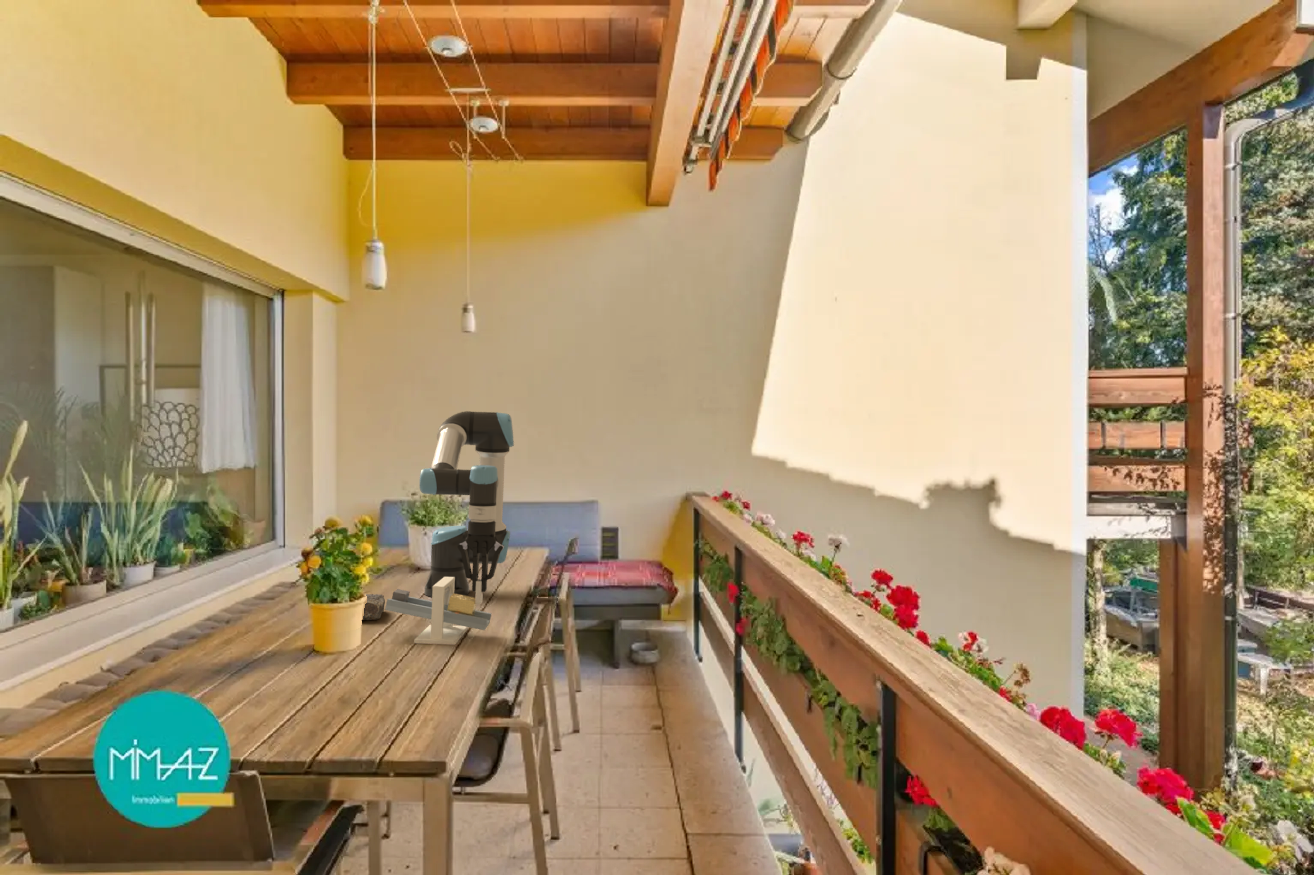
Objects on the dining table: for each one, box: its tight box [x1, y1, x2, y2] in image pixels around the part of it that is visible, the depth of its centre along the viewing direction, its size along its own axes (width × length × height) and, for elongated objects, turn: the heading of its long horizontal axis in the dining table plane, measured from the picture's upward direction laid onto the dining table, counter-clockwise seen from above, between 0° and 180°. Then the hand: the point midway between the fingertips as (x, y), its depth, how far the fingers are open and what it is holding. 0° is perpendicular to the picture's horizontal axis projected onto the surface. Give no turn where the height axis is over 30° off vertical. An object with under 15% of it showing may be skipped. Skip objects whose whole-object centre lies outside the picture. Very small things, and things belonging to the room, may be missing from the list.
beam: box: [384, 586, 492, 631], centre depth 194 cm, size 8×28×8 cm, turn 92°
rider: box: [447, 593, 477, 616], centre depth 194 cm, size 4×7×6 cm, turn 92°
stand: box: [414, 577, 468, 645], centre depth 194 cm, size 14×11×16 cm
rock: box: [363, 593, 386, 621], centre depth 210 cm, size 13×6×15 cm
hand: (478, 603), depth 194 cm, fingers closed
